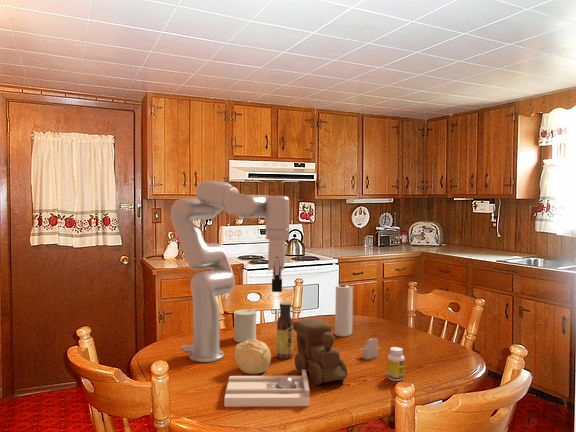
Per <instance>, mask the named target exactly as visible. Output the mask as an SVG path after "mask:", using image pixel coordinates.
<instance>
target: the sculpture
mask: <svg viewBox="0 0 576 432" xmlns="http://www.w3.org/2000/svg"><path fill="white" fill-rule="evenodd" d="M234 360H235V362H236V363H237V365H238V368H239V369H240V370H241V372H243V373H244V374H248V375H259V374H261V373H264V372H265V371H267V370H268V368H269V367H270V365H271V360H272V353H271V350H270V348H269V345H267V344H266V343H265V342H264V341H261V340H258V339H256V340H248V339H247V340H246V341H244V342H242V343H240V342H238V343H237V344H236V345H235V349H234Z"/></svg>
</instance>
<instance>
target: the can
mask: <svg viewBox="0 0 576 432" xmlns="http://www.w3.org/2000/svg"><path fill="white" fill-rule="evenodd" d="M233 312H234V338H233V340H234V341H235V342H237V343H242V342H244V341H246V340H247V339H248V340H257V311H256V310H254V309H247V308H246V309H244V308H243V309H239V310H238V309H237V310H234V311H233Z"/></svg>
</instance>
